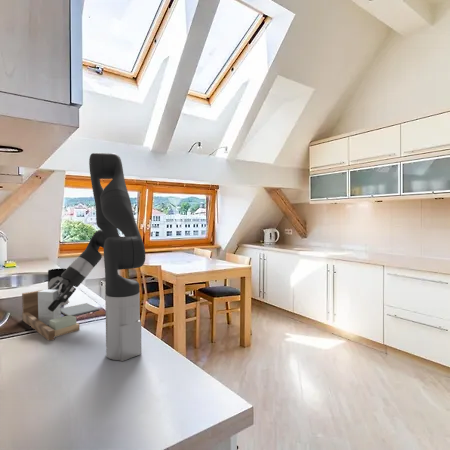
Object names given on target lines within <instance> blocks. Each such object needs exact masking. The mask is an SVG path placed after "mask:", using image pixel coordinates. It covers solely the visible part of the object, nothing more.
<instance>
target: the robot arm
mask: <svg viewBox="0 0 450 450" xmlns="http://www.w3.org/2000/svg"><path fill="white" fill-rule="evenodd" d="M88 164H89V166H88V167H89V168H88V169H89V176H90V181H91V187H92V189H91V190H92V194H93V200H94V207H95V221H96V223H95V224H96V226H97V228H98V230H96V231H95V232H94V233H93V234H92V236H91V238H90V240H89V242H88V243H87V246H86V248H85V250H83V251H82V253H81V254H80V255H79V256H78V257H77V258H75V260H73V261H72V262H71V264H69V266H68V267H67V268H65V269H66V270H65V271H64V272H63V273H62V275H61V277H62V278H63V280H62V281H61V282H60V281H59V280H57V281H56V282H55V283H54V284H53V285H52V286H51V287H50V288H49V289H51V290H58V292H57V297H56V300H54V301H53V302H52V303H51V304H50V306H49V307H48V309H49V310H50V311H52V312H53V311H54V310H55V309H56V308H57V307H58V305H59V304H60V303H63V302H64V303H65V302H66V301H67V300H69V299H70V298H71V296H72V295H73V294H74V293H75V292H76V290H77V288H78V287H80V285H81V284H82V283H83V282H84V281H85V279H86V278H87V277H88V276H89V275H90V274H91V272H92V270H93V269H95V266H97V264H98V263H99V262H100V261H101V259H102V258H103V262H104V282H105V284H104V286H105V287H104V288H105V289H104V291H105V295H104V296H105V349H106V350H105V356H106V357H107V359H110V360H112V361H113V360H114V361H120V362H123V361H124V362H125V361H127V360H129V359H132V358H134V357H136V356H137V357H138V356H139V355H142V321H141V315H140V309H141V308H140V305H141V302H140V299H141V298H140V294H141V293H140V291H141V289H140V282H138V281H137V280H134V279H129V278H127V277H126V278H125V277H123V276H122V275H120V274H119V272H118V271H119V270H121V271H122V270H133V269H138V268H141V267H143V266H144V264H145V261H146V249H145V245H144V241H143V238H142V236H141V233H140V230H139V227H138V225H137V222H136V219H135V215H134V210H133V206H132V203H131V198H130V195H129V194H130V193H129V192H128V189H127V185H126V181H125V180H126V179H125V174H124V169H123V168H124V167H123V163H122V159H121V157H120V156H119V155H118V154H117V153H113V152H93V153H91V154H90V156H89V161H88ZM102 179H104V180H106V179H107V180H109V179H111V181H109V183H107V185H106V186H105V187H104V188H103V187H102V183H101V180H102ZM118 230H119V231H118ZM119 232H121V233H122V235H123V236H120V233H119ZM100 248H102V249H103V256H102V253H101V252H100V251H99V249H100Z"/></svg>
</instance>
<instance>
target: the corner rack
mask: <svg viewBox="0 0 450 450" xmlns="http://www.w3.org/2000/svg"><path fill="white" fill-rule="evenodd" d="M42 290H43V289H41V290H35V291H28V292H22V293H21V296H22V298H21V299H22V300H21V304H22V306H21V307H22V308H21V309H22V314H21V316H22V321H23V322H24V323H25V324H26V325H28V326H29V327H30V326H31V327H30V328H32V329H33V330H34V329H35V330H34V331H36V332H37V333H38V334H39V335H41V336H42V337H43V338H45V339H46V340H48V341H49V342H50V341H53V340H55V337H54V330H53V329H52V328H50V326H49V325H46V324H45V323H43V322H42V321H40V320H39V319H38V292H39V291H42Z"/></svg>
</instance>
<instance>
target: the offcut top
mask: <svg viewBox="0 0 450 450" xmlns="http://www.w3.org/2000/svg"><path fill="white" fill-rule="evenodd" d="M76 323H77V316H72V315H67V316H66V315H65V316H61V317H60V318H56V319H52V320H49V325H48V326H49V327H50V328H52V329H54V330H59V329H62V328H65V327H69V326H72V325H75V324H76Z"/></svg>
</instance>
